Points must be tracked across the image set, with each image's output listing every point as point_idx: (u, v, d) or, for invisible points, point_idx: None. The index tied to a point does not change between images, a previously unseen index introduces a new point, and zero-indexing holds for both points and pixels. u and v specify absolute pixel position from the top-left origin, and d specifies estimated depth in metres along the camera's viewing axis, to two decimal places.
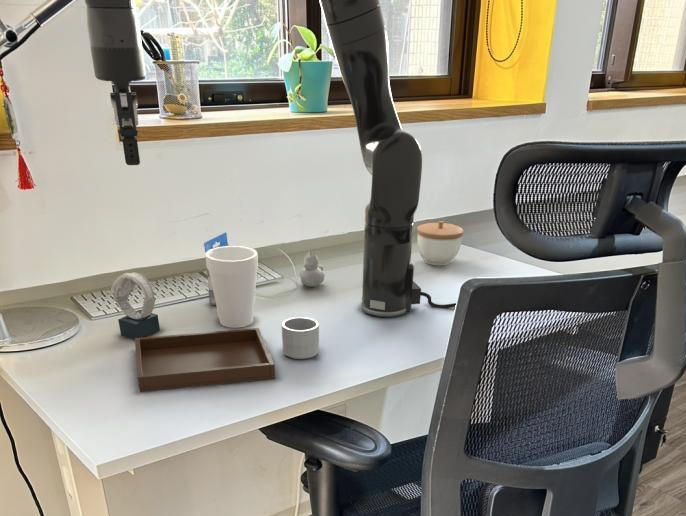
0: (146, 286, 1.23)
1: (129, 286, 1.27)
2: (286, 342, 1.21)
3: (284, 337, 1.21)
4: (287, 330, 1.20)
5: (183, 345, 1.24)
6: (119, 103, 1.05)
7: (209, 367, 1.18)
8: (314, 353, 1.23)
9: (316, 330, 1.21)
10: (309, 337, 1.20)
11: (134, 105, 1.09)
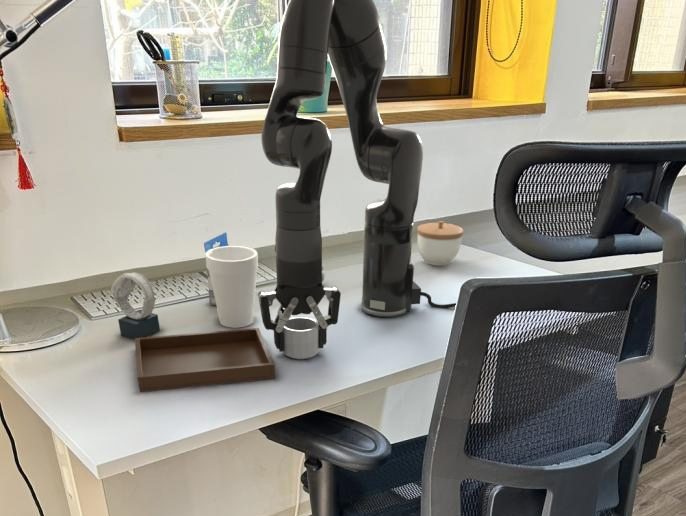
0: (146, 286, 1.23)
1: (129, 286, 1.27)
2: (286, 342, 1.21)
3: (284, 337, 1.21)
4: (287, 330, 1.20)
5: (183, 345, 1.24)
6: (259, 301, 1.18)
7: (209, 367, 1.18)
8: (314, 353, 1.23)
9: (316, 330, 1.21)
10: (309, 337, 1.20)
11: (287, 306, 1.18)
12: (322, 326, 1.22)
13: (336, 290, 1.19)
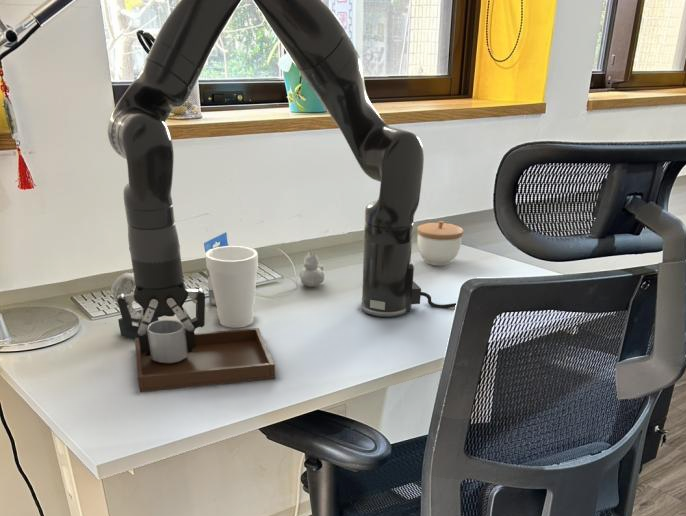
0: None
1: (129, 286, 1.27)
2: (150, 345, 1.17)
3: (148, 341, 1.17)
4: (149, 333, 1.15)
5: None
6: None
7: (209, 367, 1.18)
8: (181, 357, 1.18)
9: (181, 333, 1.16)
10: (173, 341, 1.16)
11: (147, 308, 1.13)
12: (188, 329, 1.17)
13: (200, 291, 1.15)
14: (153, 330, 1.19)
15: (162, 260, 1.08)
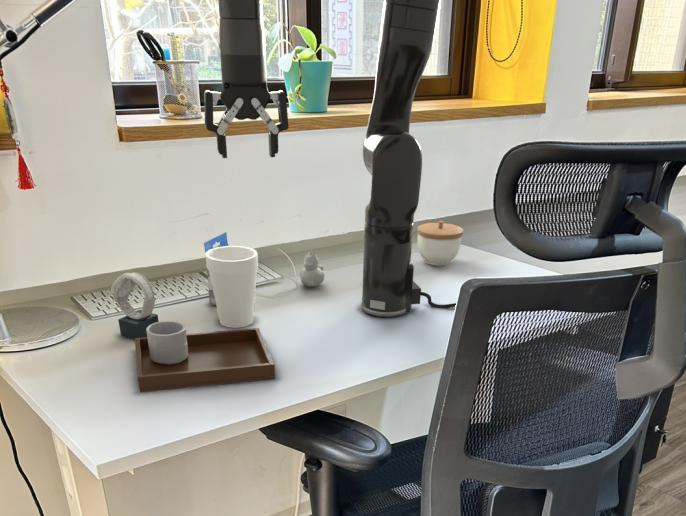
0: (146, 286, 1.23)
1: (129, 286, 1.27)
2: (151, 346, 1.17)
3: (148, 342, 1.17)
4: (150, 334, 1.15)
5: None
6: (204, 99, 1.20)
7: (209, 367, 1.18)
8: (181, 358, 1.18)
9: (181, 334, 1.16)
10: (173, 342, 1.16)
11: (231, 106, 1.20)
12: (273, 131, 1.24)
13: (281, 91, 1.21)
14: (153, 331, 1.19)
15: (251, 53, 1.14)
